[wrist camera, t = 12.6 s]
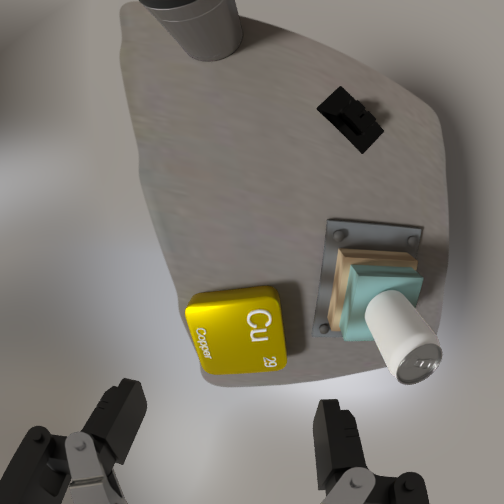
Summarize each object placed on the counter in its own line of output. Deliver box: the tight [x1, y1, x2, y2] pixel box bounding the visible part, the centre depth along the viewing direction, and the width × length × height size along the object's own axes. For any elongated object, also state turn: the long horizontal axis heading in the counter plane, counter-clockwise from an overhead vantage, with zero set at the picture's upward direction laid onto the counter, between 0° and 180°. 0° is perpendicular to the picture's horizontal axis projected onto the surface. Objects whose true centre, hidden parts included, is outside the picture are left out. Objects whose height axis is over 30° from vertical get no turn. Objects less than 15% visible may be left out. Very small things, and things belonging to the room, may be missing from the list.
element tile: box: [185, 286, 287, 375], centre depth 45 cm, size 15×15×5 cm
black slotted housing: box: [317, 86, 384, 154], centre depth 33 cm, size 12×7×5 cm, turn 48°
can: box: [365, 290, 442, 385], centre depth 28 cm, size 6×6×12 cm
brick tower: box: [312, 220, 423, 341], centre depth 38 cm, size 20×16×9 cm
